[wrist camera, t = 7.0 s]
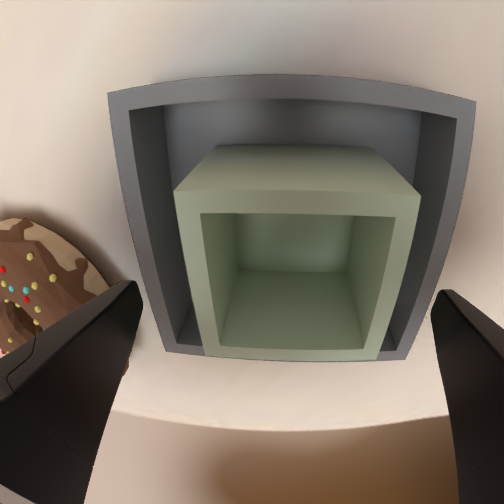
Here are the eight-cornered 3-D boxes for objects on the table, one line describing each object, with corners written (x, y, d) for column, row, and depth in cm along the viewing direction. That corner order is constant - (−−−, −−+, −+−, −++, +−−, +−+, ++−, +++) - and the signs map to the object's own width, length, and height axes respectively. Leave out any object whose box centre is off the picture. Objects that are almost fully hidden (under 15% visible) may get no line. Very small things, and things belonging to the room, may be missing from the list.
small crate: (371, 147, 11) (421, 196, 7) (355, 275, 14) (376, 359, 10) (216, 145, 11) (173, 191, 7) (228, 272, 15) (205, 355, 10)
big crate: (431, 91, 10) (476, 101, 7) (390, 310, 16) (405, 359, 13) (151, 85, 11) (107, 92, 8) (184, 304, 17) (165, 351, 14)
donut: (117, 203, 14) (60, 259, 10) (155, 372, 22) (135, 427, 17) (-31, 201, 15) (-76, 235, 11) (24, 334, 22) (-2, 372, 18)
